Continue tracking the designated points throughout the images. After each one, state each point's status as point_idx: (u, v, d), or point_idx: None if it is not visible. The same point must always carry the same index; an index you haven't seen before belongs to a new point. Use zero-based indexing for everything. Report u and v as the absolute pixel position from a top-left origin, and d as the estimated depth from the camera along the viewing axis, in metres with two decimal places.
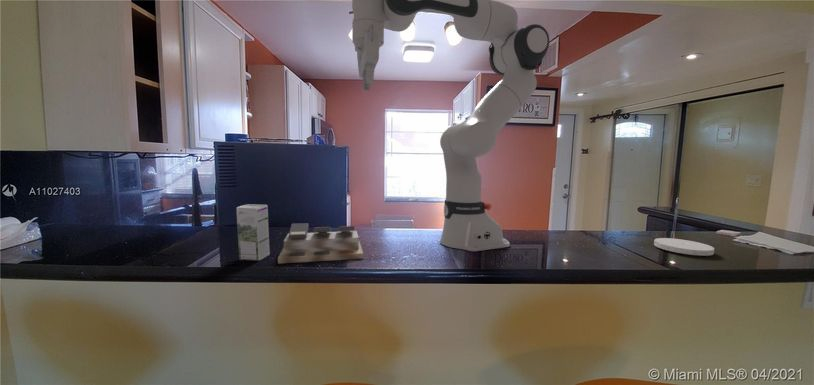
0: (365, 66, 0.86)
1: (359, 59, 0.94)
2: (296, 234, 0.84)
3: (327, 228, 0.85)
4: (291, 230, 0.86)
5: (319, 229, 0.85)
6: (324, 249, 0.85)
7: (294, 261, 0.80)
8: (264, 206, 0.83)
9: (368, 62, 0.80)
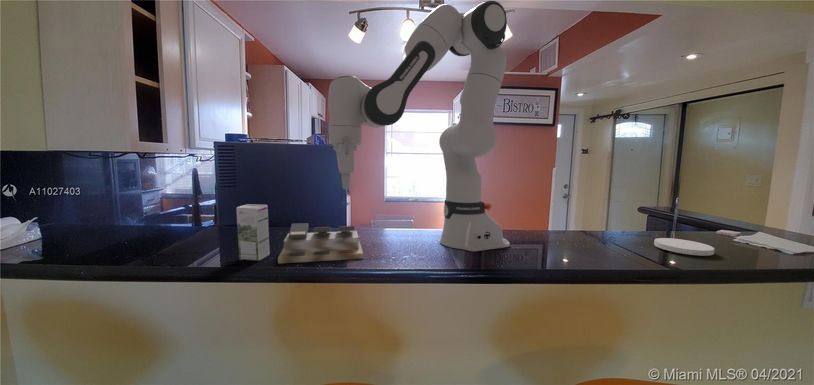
0: None
1: (338, 153, 0.91)
2: (296, 234, 0.84)
3: (327, 228, 0.85)
4: (291, 230, 0.86)
5: (319, 229, 0.85)
6: (324, 249, 0.85)
7: (294, 261, 0.80)
8: (264, 206, 0.83)
9: None
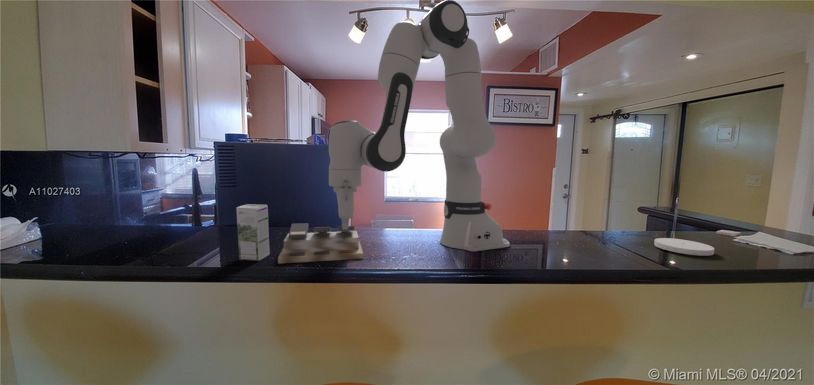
0: None
1: None
2: (296, 234, 0.84)
3: (327, 228, 0.85)
4: (291, 230, 0.86)
5: (319, 229, 0.85)
6: (324, 249, 0.85)
7: (294, 261, 0.80)
8: (264, 206, 0.83)
9: None
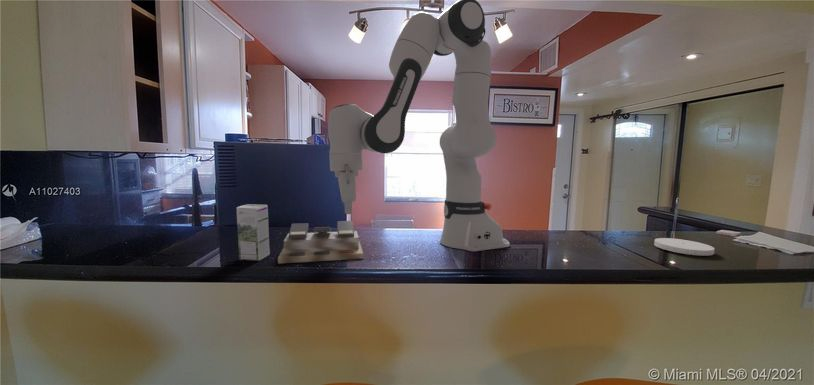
0: None
1: (339, 177, 0.92)
2: (296, 234, 0.84)
3: (327, 228, 0.85)
4: (291, 230, 0.86)
5: (319, 229, 0.85)
6: (324, 249, 0.85)
7: (294, 261, 0.80)
8: (264, 206, 0.83)
9: None
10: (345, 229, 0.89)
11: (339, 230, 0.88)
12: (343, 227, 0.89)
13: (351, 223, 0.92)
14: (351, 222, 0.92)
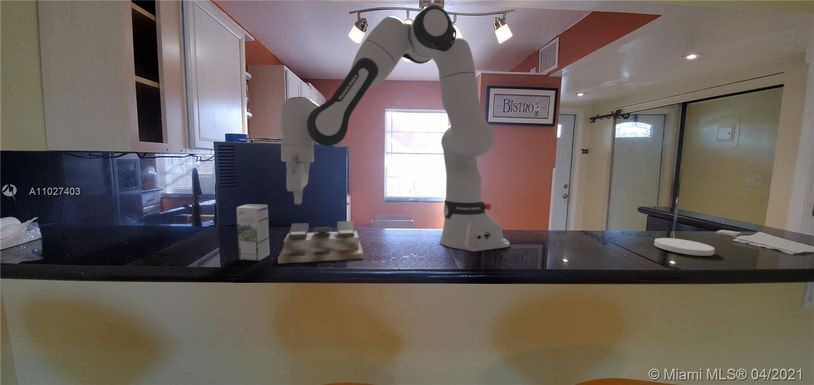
0: None
1: None
2: (296, 234, 0.84)
3: (327, 228, 0.85)
4: (291, 230, 0.86)
5: (319, 229, 0.85)
6: (324, 249, 0.85)
7: (294, 261, 0.80)
8: (264, 206, 0.83)
9: None
10: (345, 229, 0.89)
11: (339, 230, 0.88)
12: (343, 227, 0.89)
13: (351, 223, 0.92)
14: (351, 222, 0.92)
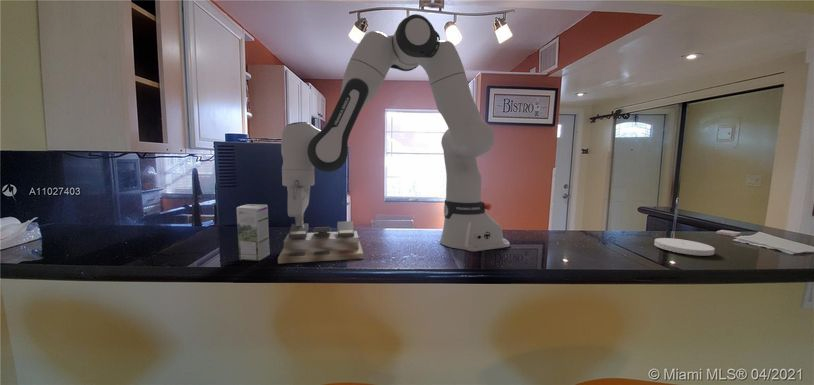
0: None
1: None
2: (296, 234, 0.84)
3: (327, 228, 0.85)
4: (291, 230, 0.86)
5: (319, 229, 0.85)
6: (324, 249, 0.85)
7: (294, 261, 0.80)
8: (264, 206, 0.83)
9: None
10: (345, 229, 0.89)
11: (339, 230, 0.88)
12: (343, 227, 0.89)
13: (351, 223, 0.92)
14: (351, 222, 0.92)
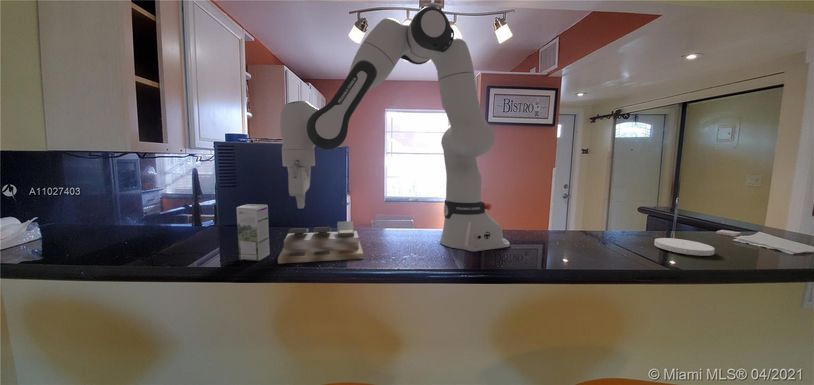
0: None
1: None
2: (296, 228, 0.84)
3: (327, 228, 0.85)
4: None
5: (319, 229, 0.85)
6: (324, 249, 0.85)
7: (294, 261, 0.80)
8: (264, 206, 0.83)
9: None
10: (345, 229, 0.89)
11: (339, 230, 0.88)
12: (343, 227, 0.89)
13: (351, 223, 0.92)
14: (351, 222, 0.92)
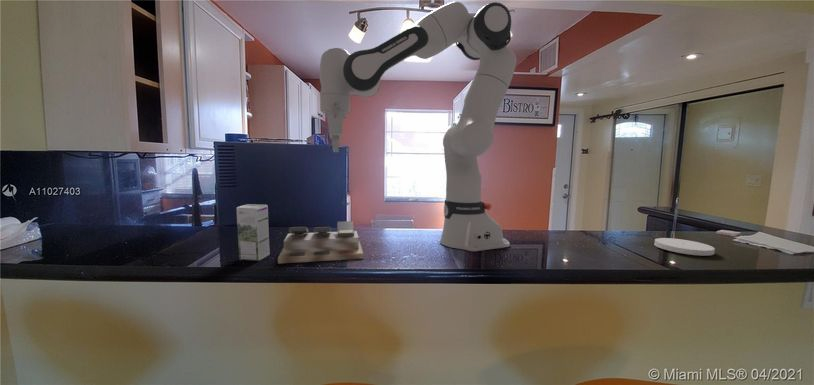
0: None
1: None
2: (296, 227, 0.84)
3: (327, 228, 0.85)
4: None
5: (319, 229, 0.85)
6: (324, 249, 0.85)
7: (294, 261, 0.80)
8: (264, 206, 0.83)
9: (333, 135, 0.86)
10: (345, 229, 0.89)
11: (339, 230, 0.88)
12: (343, 227, 0.89)
13: (351, 223, 0.92)
14: (351, 222, 0.92)
